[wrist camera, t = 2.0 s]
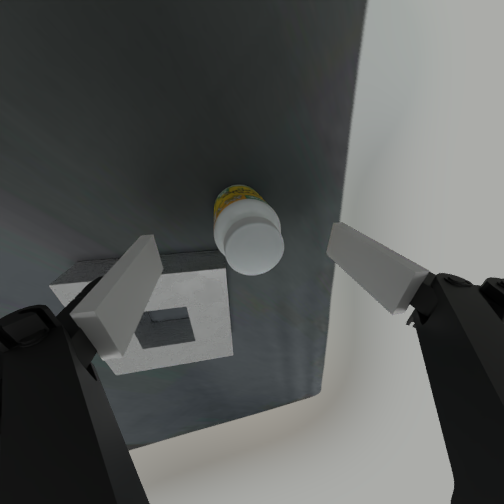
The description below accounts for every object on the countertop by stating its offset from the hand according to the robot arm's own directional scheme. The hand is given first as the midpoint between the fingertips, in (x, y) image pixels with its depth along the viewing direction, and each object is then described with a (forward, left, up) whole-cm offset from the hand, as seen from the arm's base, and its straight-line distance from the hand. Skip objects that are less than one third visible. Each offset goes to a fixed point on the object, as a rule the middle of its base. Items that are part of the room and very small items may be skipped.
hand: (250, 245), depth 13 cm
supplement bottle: (0, 0, -8) cm, 8 cm away
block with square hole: (+13, -10, -8) cm, 18 cm away
